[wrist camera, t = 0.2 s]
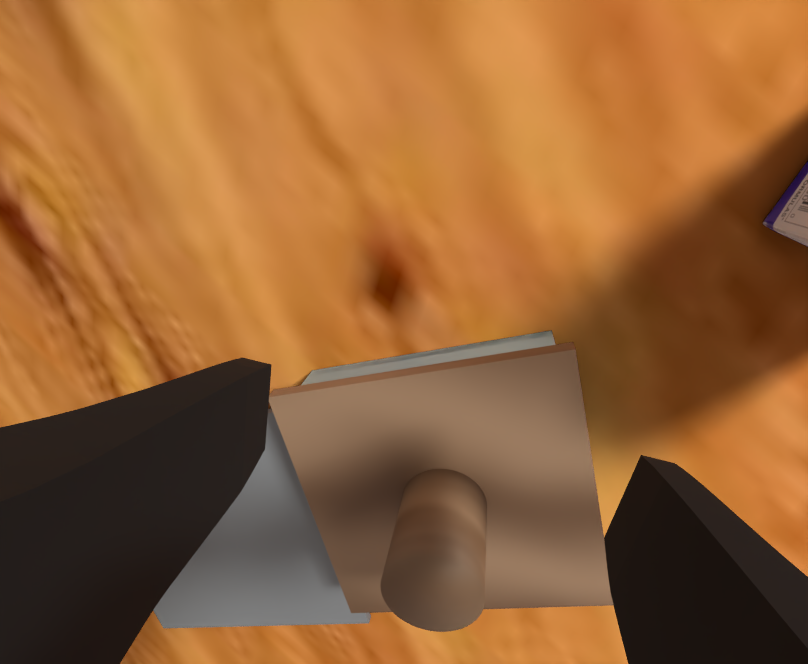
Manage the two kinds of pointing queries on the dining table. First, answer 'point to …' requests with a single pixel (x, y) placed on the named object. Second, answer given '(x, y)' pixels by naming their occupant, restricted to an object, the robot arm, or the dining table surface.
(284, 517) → the mat
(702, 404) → the dining table surface
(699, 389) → the dining table surface
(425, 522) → the lid
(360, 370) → the dish
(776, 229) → the supplement box
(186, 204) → the dining table surface
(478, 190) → the dining table surface
